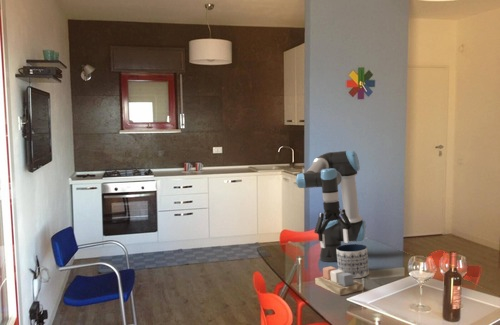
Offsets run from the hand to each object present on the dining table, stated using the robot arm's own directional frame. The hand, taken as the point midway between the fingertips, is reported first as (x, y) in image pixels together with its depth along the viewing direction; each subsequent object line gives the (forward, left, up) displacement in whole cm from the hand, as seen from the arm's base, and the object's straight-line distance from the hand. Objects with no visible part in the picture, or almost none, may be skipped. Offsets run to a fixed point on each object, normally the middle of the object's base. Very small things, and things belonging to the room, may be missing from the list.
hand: (334, 245), depth 226 cm
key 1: (-2, -11, -19) cm, 22 cm away
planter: (-20, -16, -22) cm, 34 cm away
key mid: (-2, -4, -19) cm, 19 cm away
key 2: (-2, +3, -19) cm, 19 cm away
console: (-2, -4, -22) cm, 22 cm away
